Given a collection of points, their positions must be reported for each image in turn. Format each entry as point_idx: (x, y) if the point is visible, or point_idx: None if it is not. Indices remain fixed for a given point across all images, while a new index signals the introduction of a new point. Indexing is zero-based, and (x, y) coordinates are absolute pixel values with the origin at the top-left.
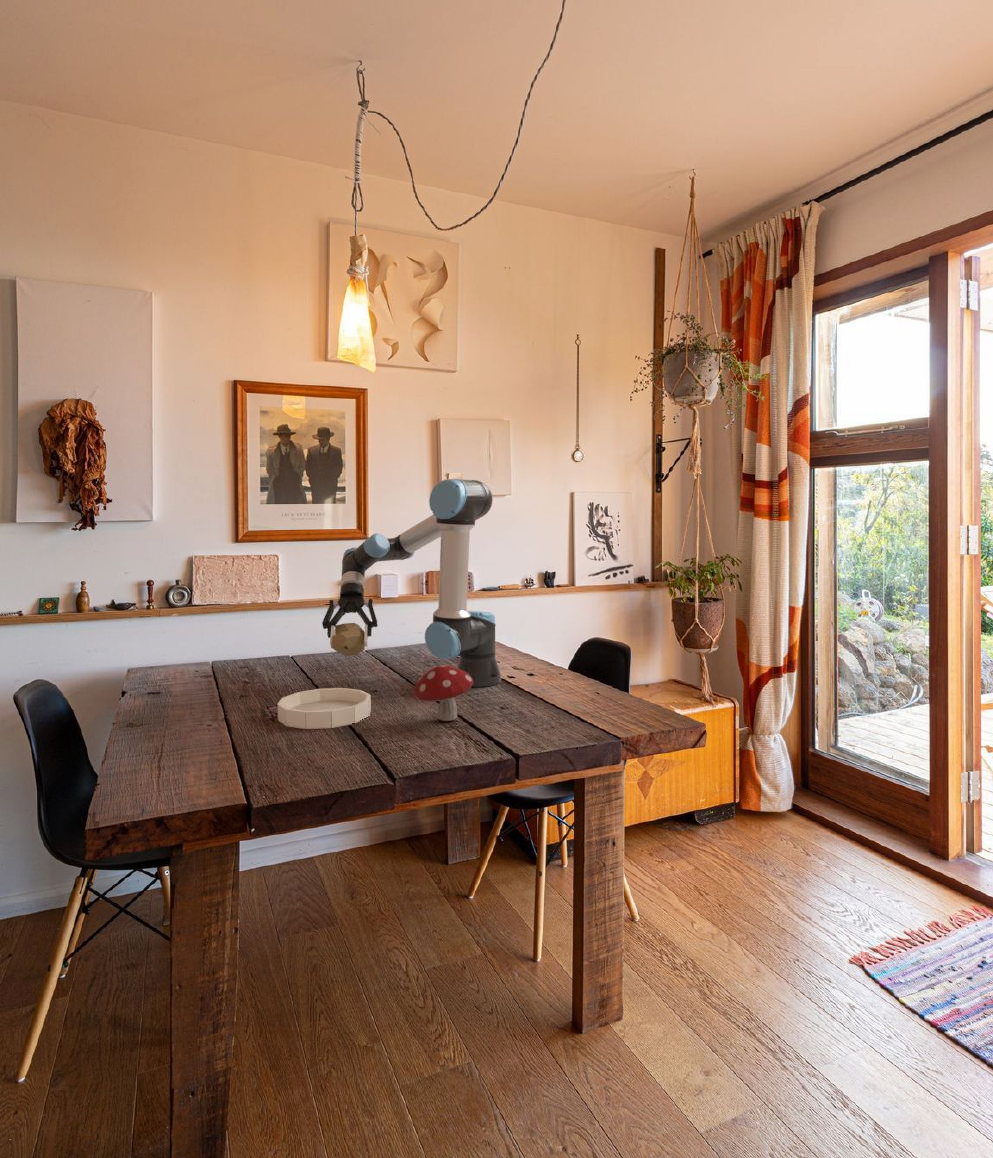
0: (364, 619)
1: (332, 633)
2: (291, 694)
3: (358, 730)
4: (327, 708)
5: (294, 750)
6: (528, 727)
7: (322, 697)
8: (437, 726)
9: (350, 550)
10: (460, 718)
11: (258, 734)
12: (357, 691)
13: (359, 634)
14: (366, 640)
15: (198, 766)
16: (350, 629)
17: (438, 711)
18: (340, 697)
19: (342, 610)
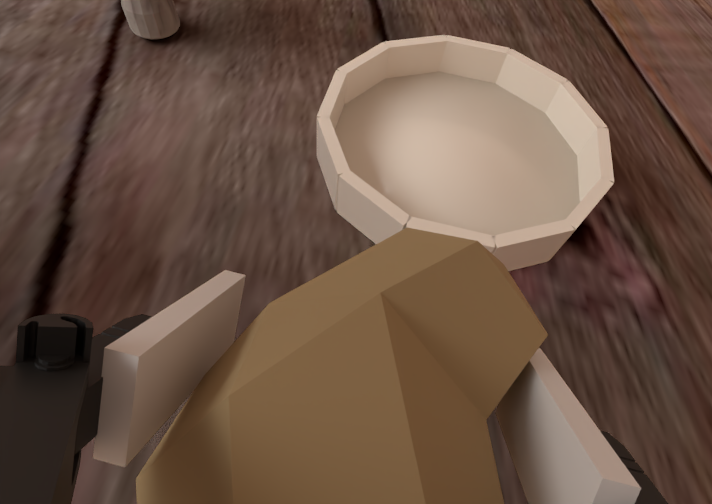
0: (70, 442)
1: (561, 398)
2: (592, 208)
3: (376, 45)
4: (450, 174)
5: (502, 6)
6: None
7: None
8: (201, 12)
9: None
10: (121, 32)
11: (598, 91)
12: (351, 174)
13: (264, 313)
14: (222, 273)
15: (647, 4)
16: (361, 313)
17: (173, 12)
18: None
19: None
